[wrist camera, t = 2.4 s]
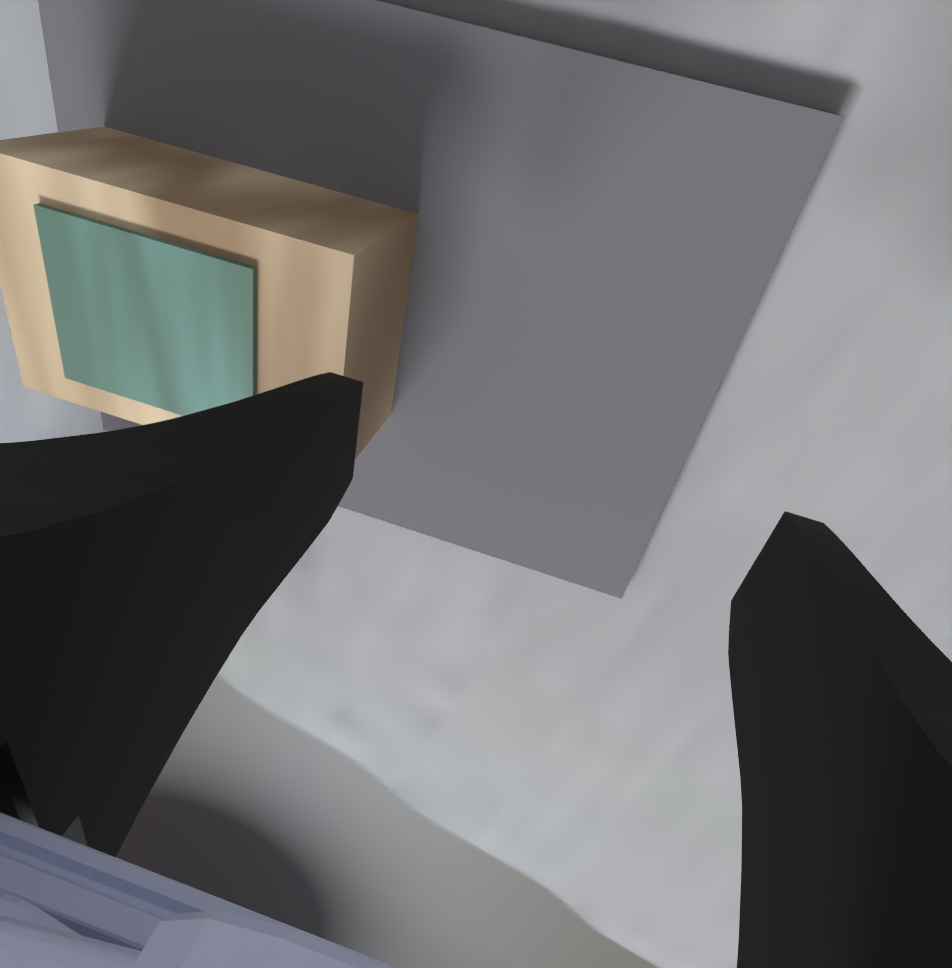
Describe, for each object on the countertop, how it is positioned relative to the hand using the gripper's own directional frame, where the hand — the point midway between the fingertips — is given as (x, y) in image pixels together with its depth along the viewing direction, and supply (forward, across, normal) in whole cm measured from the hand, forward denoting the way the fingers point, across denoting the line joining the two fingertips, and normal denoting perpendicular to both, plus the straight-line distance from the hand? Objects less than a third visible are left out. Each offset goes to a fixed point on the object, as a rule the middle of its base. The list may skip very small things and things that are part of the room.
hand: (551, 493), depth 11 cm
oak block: (+3, +4, 0) cm, 5 cm away
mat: (+5, +5, 0) cm, 7 cm away
